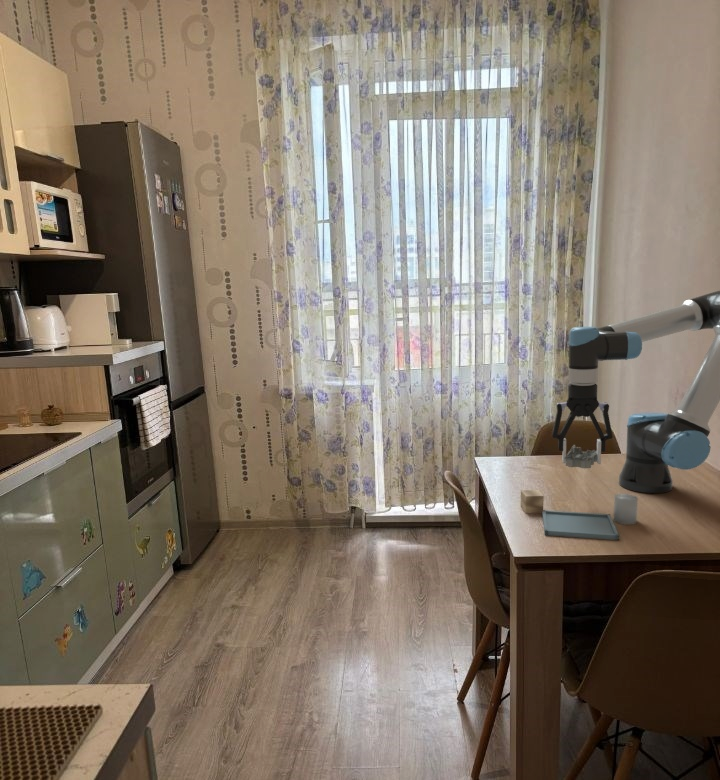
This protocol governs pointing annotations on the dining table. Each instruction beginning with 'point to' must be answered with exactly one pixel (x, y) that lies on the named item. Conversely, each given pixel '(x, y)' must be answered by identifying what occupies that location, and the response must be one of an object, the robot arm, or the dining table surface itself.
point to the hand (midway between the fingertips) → (581, 462)
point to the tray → (579, 525)
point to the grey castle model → (580, 458)
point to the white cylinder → (625, 509)
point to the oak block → (532, 501)
